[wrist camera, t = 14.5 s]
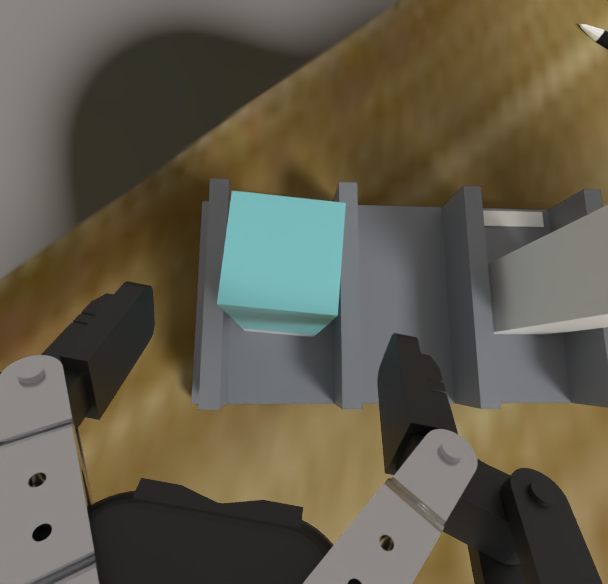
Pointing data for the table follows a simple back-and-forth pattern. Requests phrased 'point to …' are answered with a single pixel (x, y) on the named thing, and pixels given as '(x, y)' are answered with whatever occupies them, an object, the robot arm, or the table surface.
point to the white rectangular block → (554, 281)
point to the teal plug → (282, 263)
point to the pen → (596, 34)
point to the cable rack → (400, 312)
